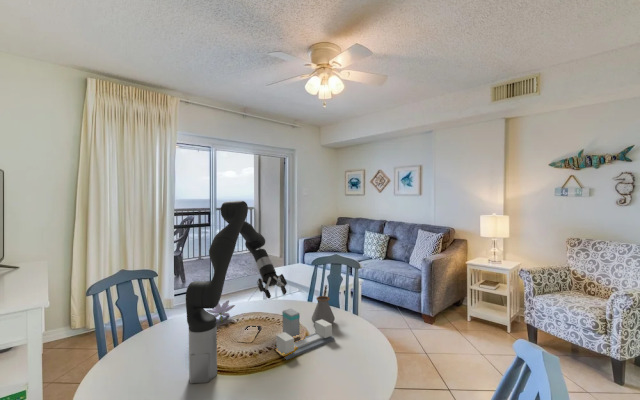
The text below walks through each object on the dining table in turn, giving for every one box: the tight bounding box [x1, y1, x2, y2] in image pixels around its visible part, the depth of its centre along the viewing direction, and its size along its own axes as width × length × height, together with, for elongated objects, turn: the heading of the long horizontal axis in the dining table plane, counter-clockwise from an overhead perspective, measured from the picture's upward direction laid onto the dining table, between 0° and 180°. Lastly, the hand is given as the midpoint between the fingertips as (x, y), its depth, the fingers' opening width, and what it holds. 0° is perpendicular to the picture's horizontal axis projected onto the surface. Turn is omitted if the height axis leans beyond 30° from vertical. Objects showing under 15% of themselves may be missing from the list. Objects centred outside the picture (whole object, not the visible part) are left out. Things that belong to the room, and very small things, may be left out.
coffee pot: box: [311, 284, 335, 325], centre depth 151 cm, size 21×12×15 cm, turn 172°
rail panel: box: [275, 319, 336, 361], centre depth 125 cm, size 25×9×7 cm, turn 129°
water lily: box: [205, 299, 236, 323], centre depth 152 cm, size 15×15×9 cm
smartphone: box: [244, 325, 262, 331], centre depth 135 cm, size 7×1×15 cm
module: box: [281, 308, 301, 337], centre depth 133 cm, size 5×7×11 cm, turn 39°
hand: (277, 295), depth 143 cm, fingers open, 8 cm apart
